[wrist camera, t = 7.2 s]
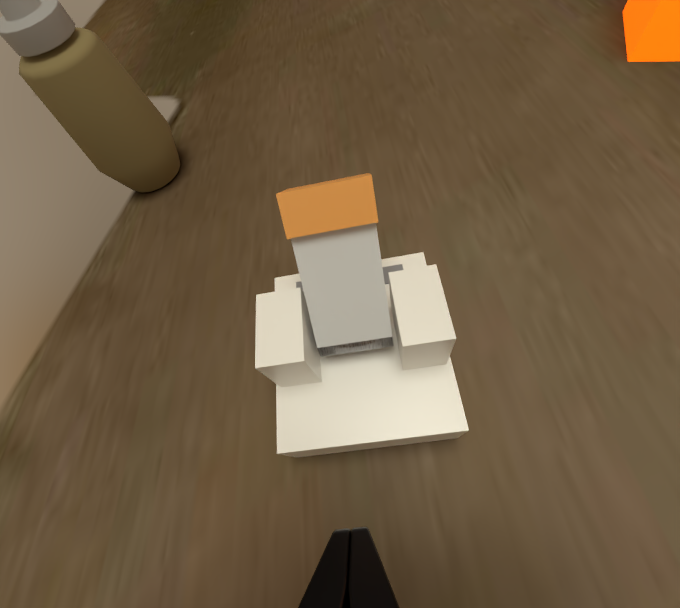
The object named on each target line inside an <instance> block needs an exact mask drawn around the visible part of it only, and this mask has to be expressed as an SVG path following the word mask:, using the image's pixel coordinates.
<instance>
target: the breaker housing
mask: <svg viewBox="0 0 680 608" xmlns="http://www.w3.org/2000/svg"><path fill="white" fill-rule="evenodd" d="M381 262H382V268H383V275H384V282H385V289H386V296H387V302H388V309H389V316H390V323H391V330H392V336H393V344H394V346H393V347H386V348H379V349H372V350H366V351H359V352H352V353H345V354H339V355H332V356H325V357H321V356H320V355H319V352H318V349H317V344H316V340H315V336H314V332H313V328H312V324H311V320H310V315H309V311H308V307H307V303H306V299H305V295H304V291H303V286H302V282H301V278H300V274H295V275H289V276H284V277H278V278H275V292H270V293H264V294H259V295H256V348H255V368H256V369H257V370H258V371H260V372H261V373H262V374H264V375H265V376H266V377H268V378H269V379H270V380H272V381H273V382H274V383H276V407H277V454H281V455H286V456H292V457H306V456H314V455H322V454H331V453H339V452H347V451H356V450H364V449H372V448H381V447H389V446H397V445H406V444H414V443H422V442H431V441H439V440H447V439H456V438H459V437H460V436H462V435H463V434H464V433H466V432H467V431H469V429H468V425H467V421H466V417H465V413H464V409H463V405H462V401H461V397H460V394H459V390H458V386H457V382H456V378H455V374H454V370H453V366H452V362H451V358H450V353H451V351H452V348H453V346H454V343H455V340H456V336H455V332H454V329H453V325H452V321H451V317H450V314H449V310H448V306H447V303H446V299H445V295H444V292H443V288H442V284H441V281H440V277H439V273H438V270H437V266H436V265H430V266H427V265H426V261H425V257H424V253H423V252H422V253H416V254H410V255H405V256H399V257H393V258H387V259H382V260H381Z"/></svg>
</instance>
